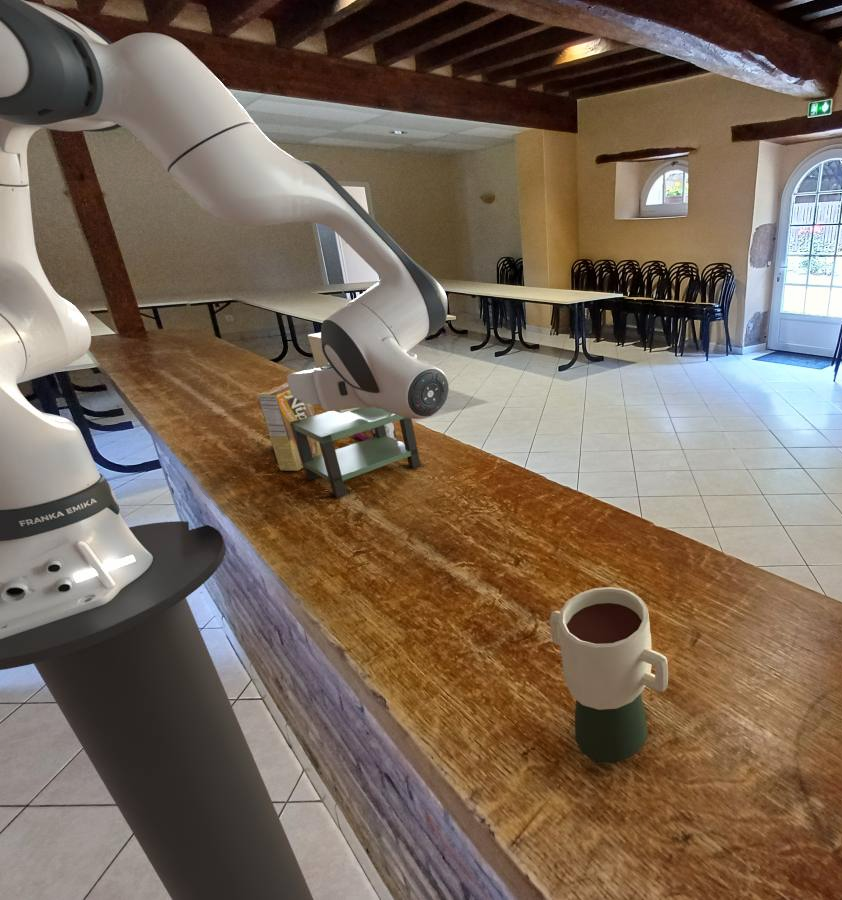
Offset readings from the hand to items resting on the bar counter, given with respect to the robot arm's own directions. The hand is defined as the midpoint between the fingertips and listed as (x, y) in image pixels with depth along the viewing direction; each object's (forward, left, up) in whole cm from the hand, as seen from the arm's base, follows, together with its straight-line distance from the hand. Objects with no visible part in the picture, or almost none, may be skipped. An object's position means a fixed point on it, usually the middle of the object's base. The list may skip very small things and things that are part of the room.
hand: (336, 367), depth 96 cm
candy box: (-5, +14, -20) cm, 25 cm away
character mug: (-14, -74, -20) cm, 78 cm away
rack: (0, -1, -20) cm, 20 cm away
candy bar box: (+10, +14, -20) cm, 26 cm away
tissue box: (0, -1, -7) cm, 7 cm away
